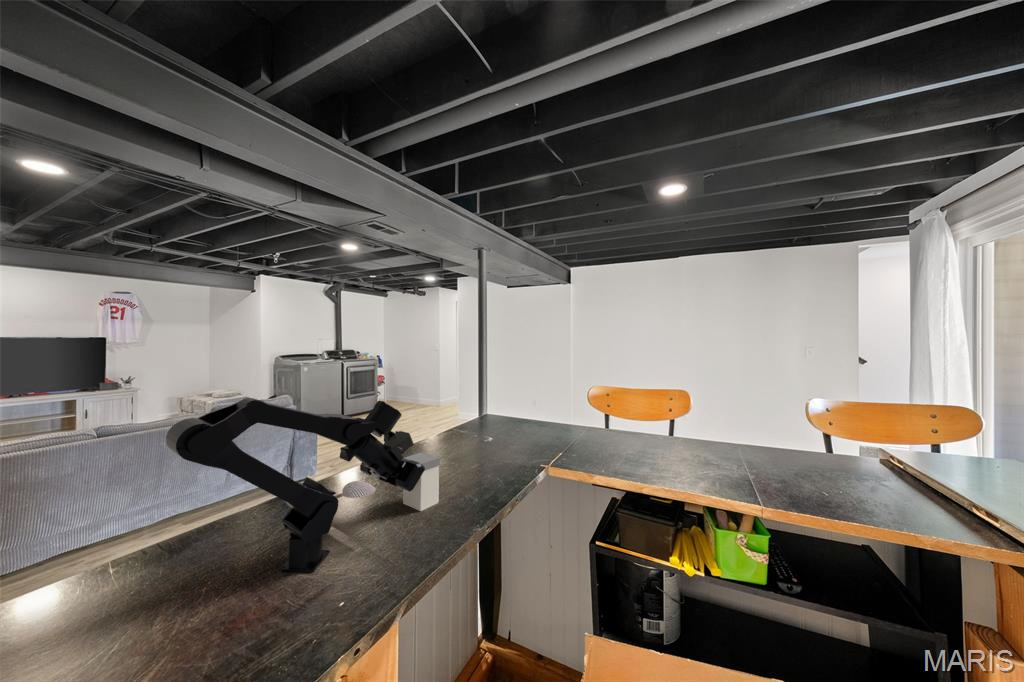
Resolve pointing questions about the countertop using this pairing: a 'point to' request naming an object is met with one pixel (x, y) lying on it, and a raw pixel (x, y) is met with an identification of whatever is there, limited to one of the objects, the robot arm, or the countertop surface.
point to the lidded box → (424, 483)
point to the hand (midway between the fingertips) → (410, 484)
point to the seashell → (357, 489)
